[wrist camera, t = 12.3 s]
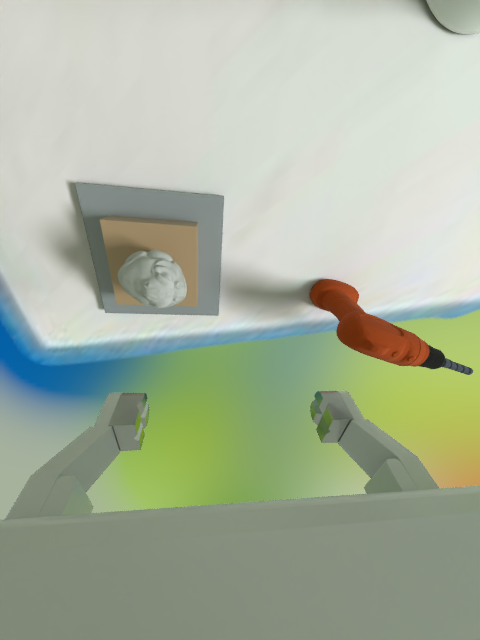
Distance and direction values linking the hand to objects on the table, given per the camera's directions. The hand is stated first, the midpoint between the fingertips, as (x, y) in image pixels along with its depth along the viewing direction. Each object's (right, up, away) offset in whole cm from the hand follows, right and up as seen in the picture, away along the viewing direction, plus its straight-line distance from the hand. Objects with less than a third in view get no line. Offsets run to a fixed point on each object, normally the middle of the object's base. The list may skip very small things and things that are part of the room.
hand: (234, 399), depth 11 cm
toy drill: (+19, +7, +27) cm, 34 cm away
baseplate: (-10, +12, +20) cm, 26 cm away
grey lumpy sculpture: (-9, +10, +17) cm, 22 cm away
